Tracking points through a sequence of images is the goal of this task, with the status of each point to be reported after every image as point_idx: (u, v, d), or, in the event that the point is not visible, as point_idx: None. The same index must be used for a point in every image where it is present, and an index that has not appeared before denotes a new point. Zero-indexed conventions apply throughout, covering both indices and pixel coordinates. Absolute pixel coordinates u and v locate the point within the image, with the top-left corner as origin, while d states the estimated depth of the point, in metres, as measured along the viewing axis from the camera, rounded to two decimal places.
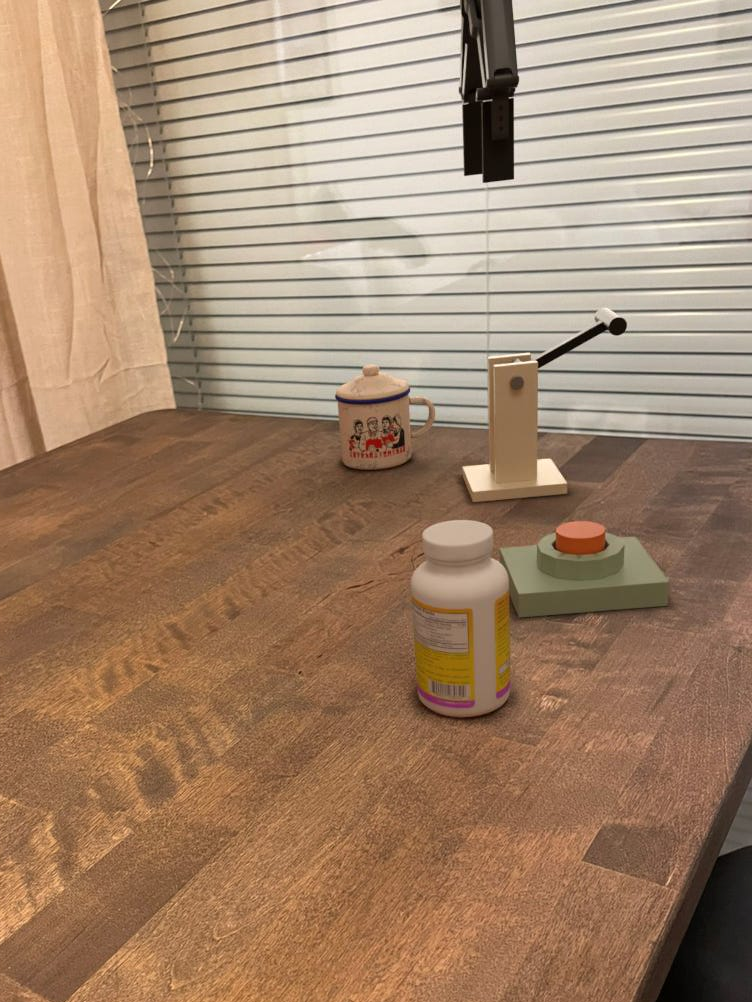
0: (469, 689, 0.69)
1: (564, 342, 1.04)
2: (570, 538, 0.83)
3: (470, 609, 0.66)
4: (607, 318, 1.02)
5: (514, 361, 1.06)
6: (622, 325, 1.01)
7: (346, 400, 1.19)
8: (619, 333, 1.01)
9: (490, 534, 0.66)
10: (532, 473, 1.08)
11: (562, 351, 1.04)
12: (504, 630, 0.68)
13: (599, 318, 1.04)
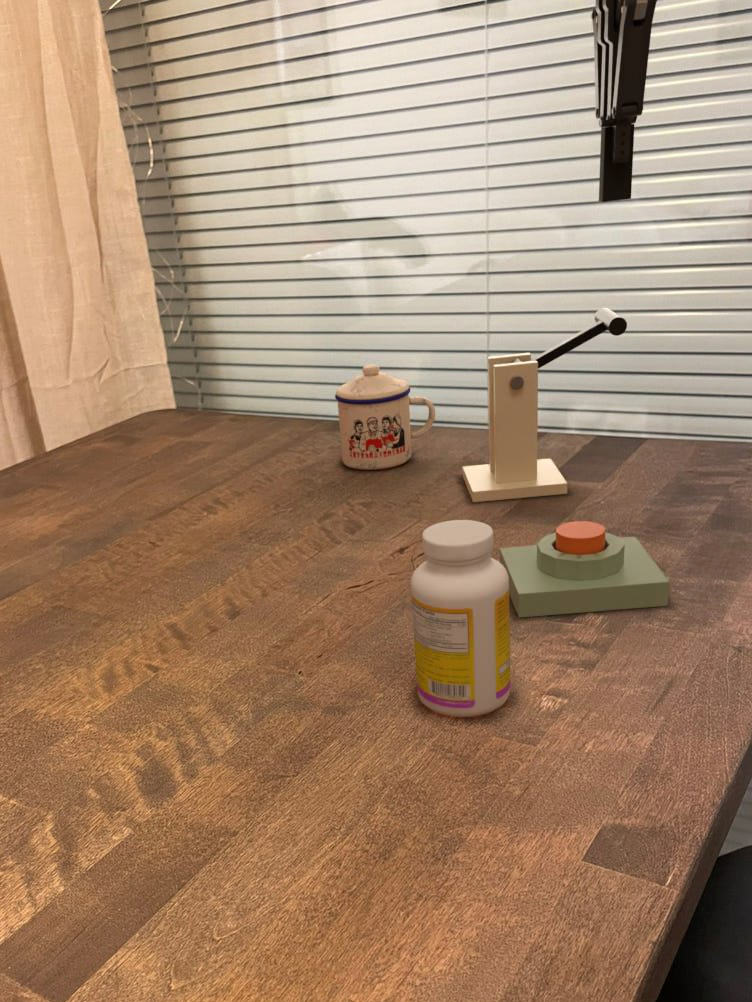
0: (470, 689, 0.69)
1: (564, 342, 1.04)
2: (570, 538, 0.83)
3: (470, 609, 0.66)
4: (607, 318, 1.02)
5: (514, 361, 1.06)
6: (622, 325, 1.01)
7: (346, 400, 1.19)
8: (619, 333, 1.01)
9: (490, 534, 0.66)
10: (532, 473, 1.08)
11: (562, 351, 1.04)
12: (504, 630, 0.68)
13: (599, 318, 1.04)
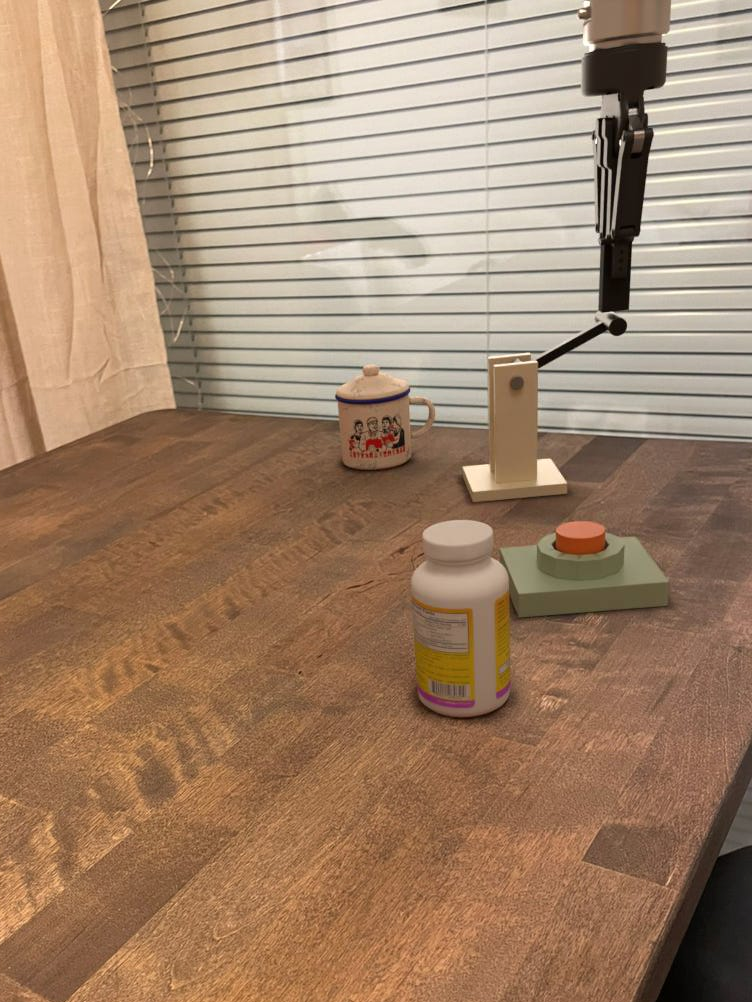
0: (470, 689, 0.69)
1: (564, 342, 1.04)
2: (570, 538, 0.83)
3: (470, 609, 0.66)
4: (607, 318, 1.02)
5: (514, 361, 1.06)
6: (622, 326, 1.01)
7: (346, 400, 1.19)
8: (619, 334, 1.01)
9: (490, 534, 0.66)
10: (532, 473, 1.08)
11: (562, 351, 1.04)
12: (504, 630, 0.68)
13: (599, 318, 1.04)
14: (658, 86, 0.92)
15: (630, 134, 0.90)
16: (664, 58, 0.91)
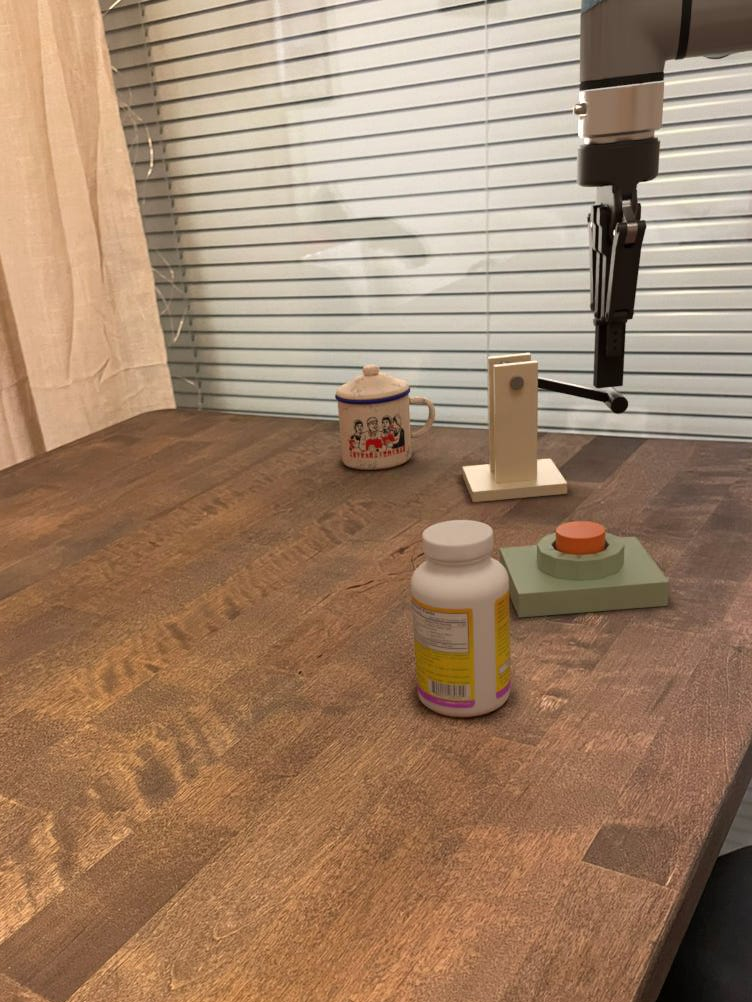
0: (470, 689, 0.69)
1: (569, 384, 1.06)
2: (570, 538, 0.83)
3: (470, 609, 0.66)
4: (615, 393, 1.05)
5: None
6: (623, 407, 1.04)
7: (346, 400, 1.19)
8: (615, 411, 1.05)
9: (490, 534, 0.66)
10: (532, 473, 1.08)
11: (563, 390, 1.06)
12: (504, 630, 0.68)
13: (605, 389, 1.07)
14: (651, 179, 0.95)
15: (623, 226, 0.94)
16: (656, 153, 0.94)
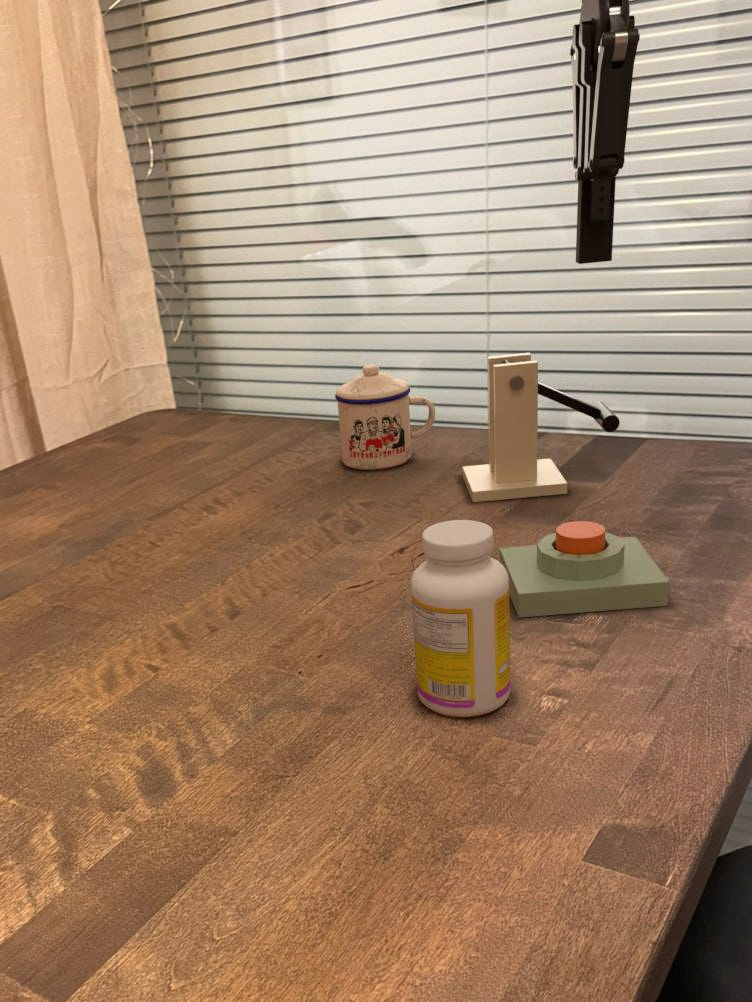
0: (470, 689, 0.69)
1: (566, 394, 1.07)
2: (570, 538, 0.83)
3: (470, 609, 0.66)
4: (608, 411, 1.06)
5: None
6: (613, 426, 1.05)
7: (346, 400, 1.19)
8: (606, 429, 1.05)
9: (490, 534, 0.66)
10: (532, 473, 1.08)
11: (559, 399, 1.07)
12: (504, 630, 0.68)
13: (598, 406, 1.08)
14: None
15: (610, 36, 0.73)
16: None
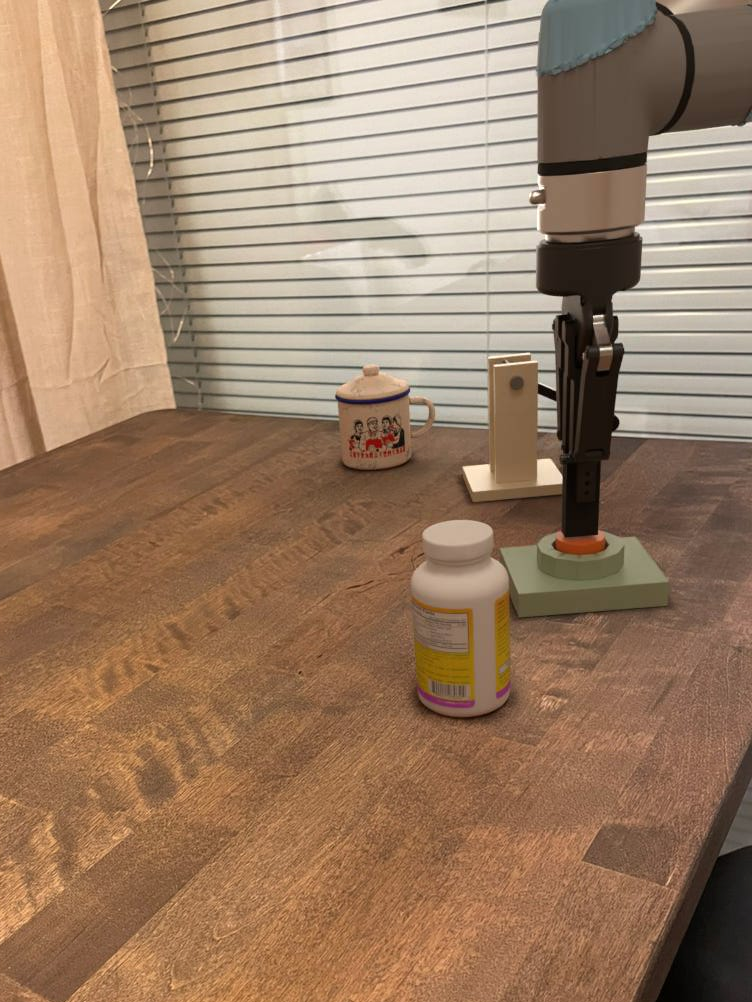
0: (470, 689, 0.69)
1: None
2: (570, 544, 0.83)
3: (470, 609, 0.66)
4: None
5: None
6: (613, 426, 1.05)
7: (346, 400, 1.19)
8: None
9: (490, 534, 0.66)
10: (532, 473, 1.08)
11: None
12: (504, 630, 0.68)
13: None
14: (630, 287, 0.73)
15: (595, 351, 0.72)
16: (638, 255, 0.72)
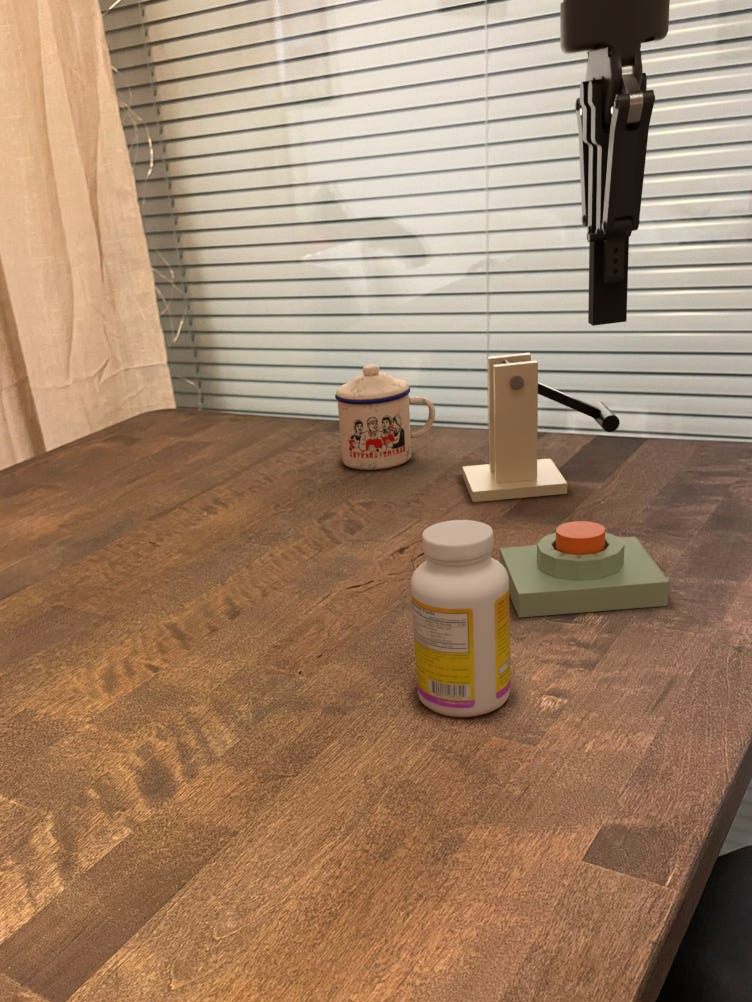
0: (470, 689, 0.69)
1: (566, 394, 1.07)
2: (570, 538, 0.83)
3: (470, 609, 0.66)
4: (608, 411, 1.06)
5: None
6: (613, 426, 1.05)
7: (346, 400, 1.19)
8: (606, 429, 1.05)
9: (490, 534, 0.66)
10: (532, 473, 1.08)
11: (559, 399, 1.07)
12: (504, 630, 0.68)
13: (598, 406, 1.08)
14: (659, 37, 0.71)
15: (625, 99, 0.70)
16: (666, 0, 0.71)
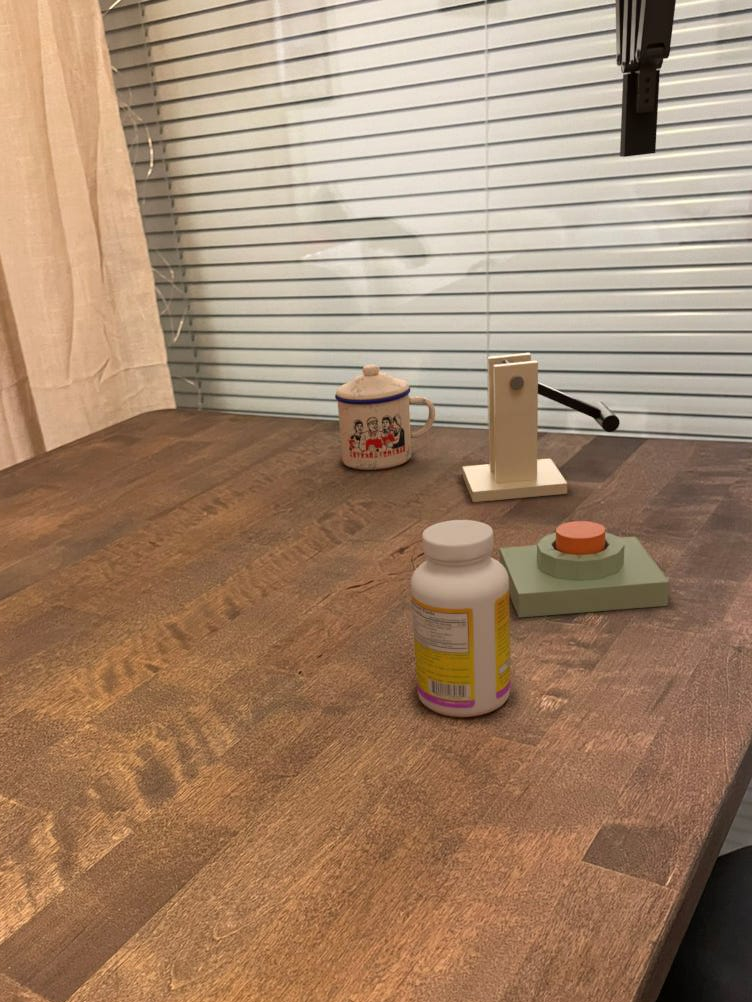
0: (470, 689, 0.69)
1: (566, 394, 1.07)
2: (570, 538, 0.83)
3: (470, 609, 0.66)
4: (608, 411, 1.06)
5: None
6: (613, 426, 1.05)
7: (346, 400, 1.19)
8: (606, 429, 1.05)
9: (490, 534, 0.66)
10: (532, 473, 1.08)
11: (559, 399, 1.07)
12: (504, 630, 0.68)
13: (598, 406, 1.08)
14: None
15: None
16: None
